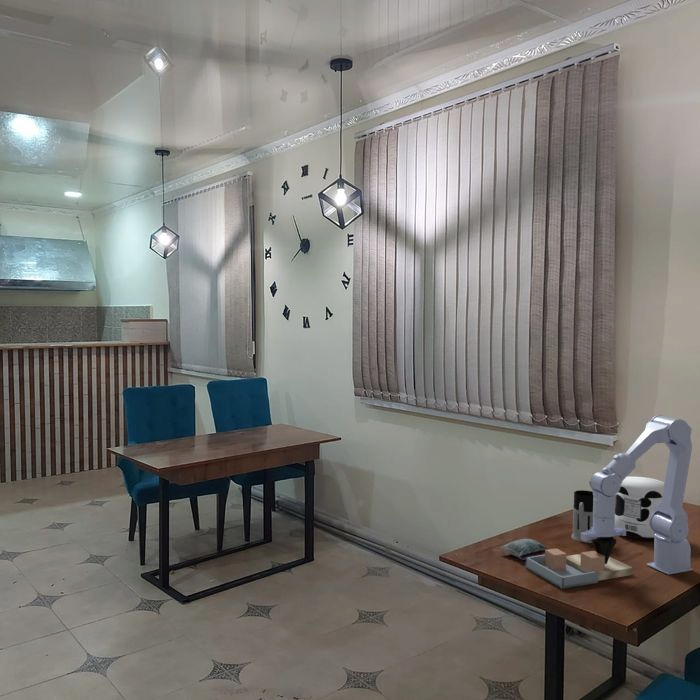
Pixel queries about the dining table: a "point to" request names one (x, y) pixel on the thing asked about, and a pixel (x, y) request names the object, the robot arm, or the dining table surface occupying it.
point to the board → (611, 570)
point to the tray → (560, 573)
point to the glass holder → (582, 514)
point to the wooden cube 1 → (555, 559)
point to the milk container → (637, 505)
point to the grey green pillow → (524, 548)
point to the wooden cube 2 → (592, 561)
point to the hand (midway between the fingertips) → (602, 562)
